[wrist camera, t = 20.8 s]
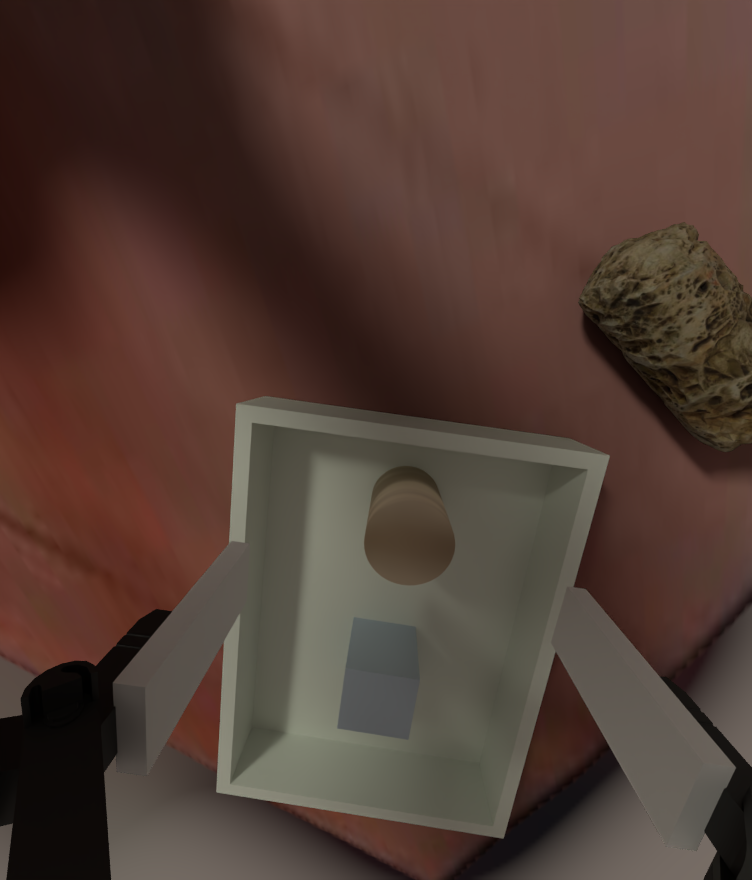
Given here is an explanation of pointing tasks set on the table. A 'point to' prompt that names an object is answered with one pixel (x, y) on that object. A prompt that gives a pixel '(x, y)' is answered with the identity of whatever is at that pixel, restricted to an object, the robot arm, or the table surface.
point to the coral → (680, 329)
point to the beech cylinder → (408, 528)
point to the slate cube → (380, 679)
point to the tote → (395, 609)
